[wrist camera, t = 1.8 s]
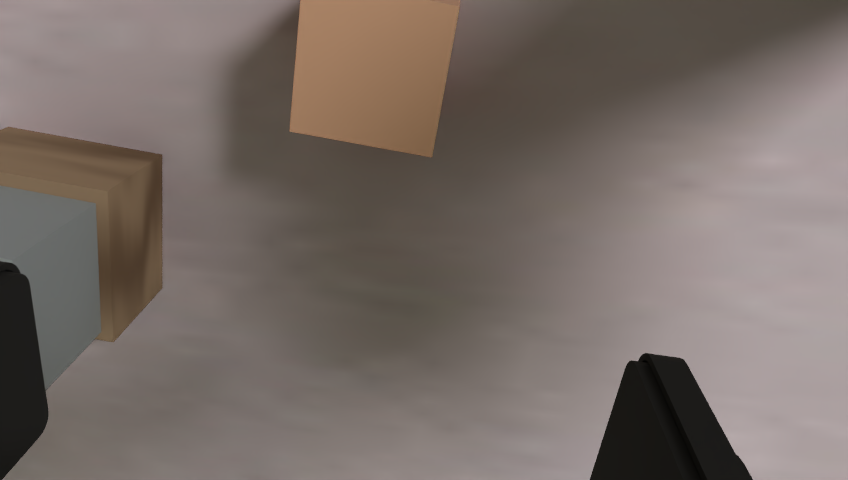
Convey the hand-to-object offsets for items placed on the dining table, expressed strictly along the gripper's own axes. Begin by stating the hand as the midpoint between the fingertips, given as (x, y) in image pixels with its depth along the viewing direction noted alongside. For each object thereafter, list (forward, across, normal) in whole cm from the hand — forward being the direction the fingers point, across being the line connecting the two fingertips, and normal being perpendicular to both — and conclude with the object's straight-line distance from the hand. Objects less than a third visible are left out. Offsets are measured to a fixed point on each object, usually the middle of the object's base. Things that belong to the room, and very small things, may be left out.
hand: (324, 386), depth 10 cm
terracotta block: (+19, +1, -2) cm, 19 cm away
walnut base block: (+19, +15, +7) cm, 25 cm away
